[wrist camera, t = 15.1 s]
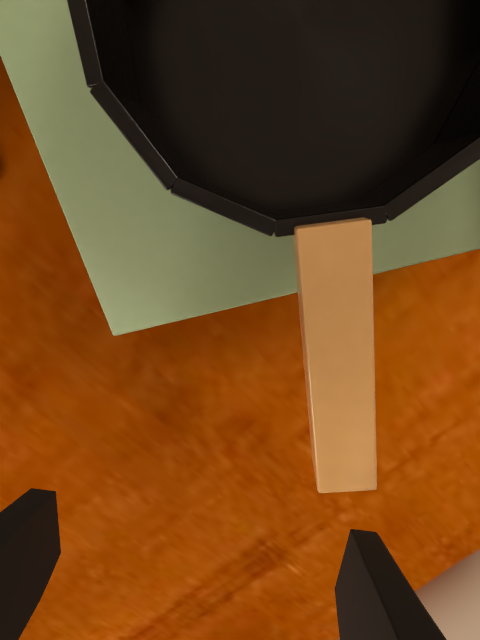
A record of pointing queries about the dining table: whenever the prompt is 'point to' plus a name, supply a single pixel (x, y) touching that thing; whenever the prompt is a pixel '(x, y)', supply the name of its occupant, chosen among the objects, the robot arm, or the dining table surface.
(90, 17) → the pan
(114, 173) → the shelf
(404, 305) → the dining table surface
